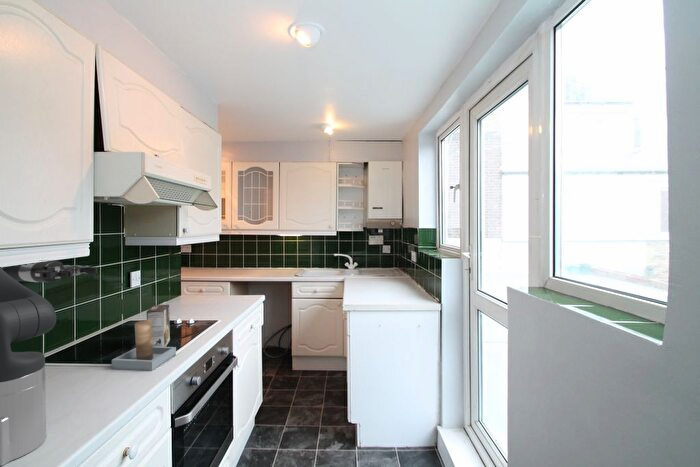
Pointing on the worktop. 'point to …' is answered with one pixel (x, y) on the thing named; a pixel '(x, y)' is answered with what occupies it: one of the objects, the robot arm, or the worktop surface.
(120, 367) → the tray
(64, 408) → the worktop surface
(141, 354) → the walnut dowel
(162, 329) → the coffee box
